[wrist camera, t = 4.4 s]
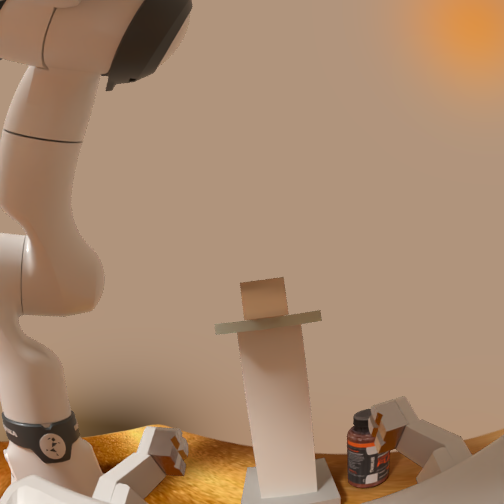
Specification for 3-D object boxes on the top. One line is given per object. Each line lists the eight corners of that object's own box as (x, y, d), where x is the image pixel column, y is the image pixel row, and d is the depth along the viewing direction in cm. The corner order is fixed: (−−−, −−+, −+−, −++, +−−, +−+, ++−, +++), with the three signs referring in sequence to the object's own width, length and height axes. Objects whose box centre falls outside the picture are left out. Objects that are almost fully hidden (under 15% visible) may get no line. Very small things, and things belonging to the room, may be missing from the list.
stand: (343, 515, 19) (330, 308, 25) (240, 528, 19) (204, 325, 26) (324, 467, 33) (309, 312, 39) (249, 476, 33) (226, 323, 39)
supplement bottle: (382, 490, 22) (385, 421, 25) (341, 488, 25) (338, 423, 28) (392, 467, 27) (394, 403, 29) (355, 467, 30) (353, 406, 33)
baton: (288, 314, 17) (283, 276, 18) (244, 320, 17) (239, 282, 18) (278, 317, 39) (275, 300, 39) (258, 319, 39) (256, 303, 39)
